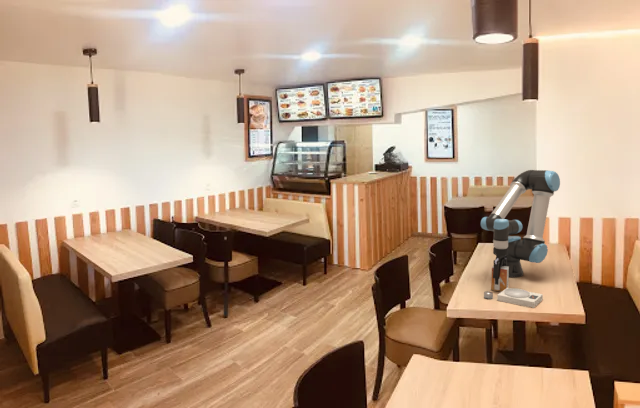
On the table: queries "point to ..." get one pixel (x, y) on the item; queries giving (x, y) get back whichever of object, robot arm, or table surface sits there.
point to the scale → (520, 297)
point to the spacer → (488, 295)
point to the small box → (501, 278)
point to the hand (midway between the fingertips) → (499, 287)
